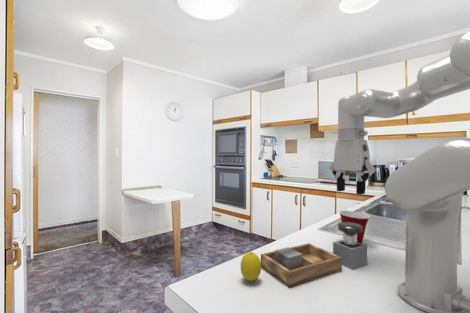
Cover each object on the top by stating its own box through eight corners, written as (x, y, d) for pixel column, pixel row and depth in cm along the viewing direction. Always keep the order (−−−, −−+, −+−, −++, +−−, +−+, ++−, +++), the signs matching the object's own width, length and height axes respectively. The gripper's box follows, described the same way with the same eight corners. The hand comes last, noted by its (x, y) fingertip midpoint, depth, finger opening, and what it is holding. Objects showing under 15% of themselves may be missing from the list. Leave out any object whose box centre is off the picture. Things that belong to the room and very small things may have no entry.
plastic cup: (374, 250, 88) (375, 217, 87) (343, 248, 89) (343, 215, 89) (363, 239, 98) (364, 210, 98) (335, 238, 100) (335, 209, 100)
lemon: (248, 274, 70) (248, 246, 69) (264, 280, 66) (265, 251, 66) (236, 282, 65) (236, 252, 65) (253, 289, 62) (253, 258, 62)
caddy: (341, 270, 72) (341, 250, 72) (289, 288, 62) (289, 265, 62) (309, 254, 83) (309, 237, 83) (260, 267, 74) (260, 247, 74)
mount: (366, 264, 76) (367, 245, 76) (352, 269, 73) (352, 249, 73) (347, 256, 82) (347, 238, 82) (333, 260, 79) (333, 242, 79)
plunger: (367, 253, 76) (367, 226, 76) (352, 258, 73) (352, 229, 72) (347, 246, 82) (347, 221, 82) (333, 249, 79) (333, 223, 79)
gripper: (385, 134, 71) (385, 195, 71) (336, 138, 86) (335, 188, 87) (369, 133, 68) (369, 197, 68) (320, 137, 83) (320, 189, 83)
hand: (350, 191), depth 77 cm, fingers open, 6 cm apart
